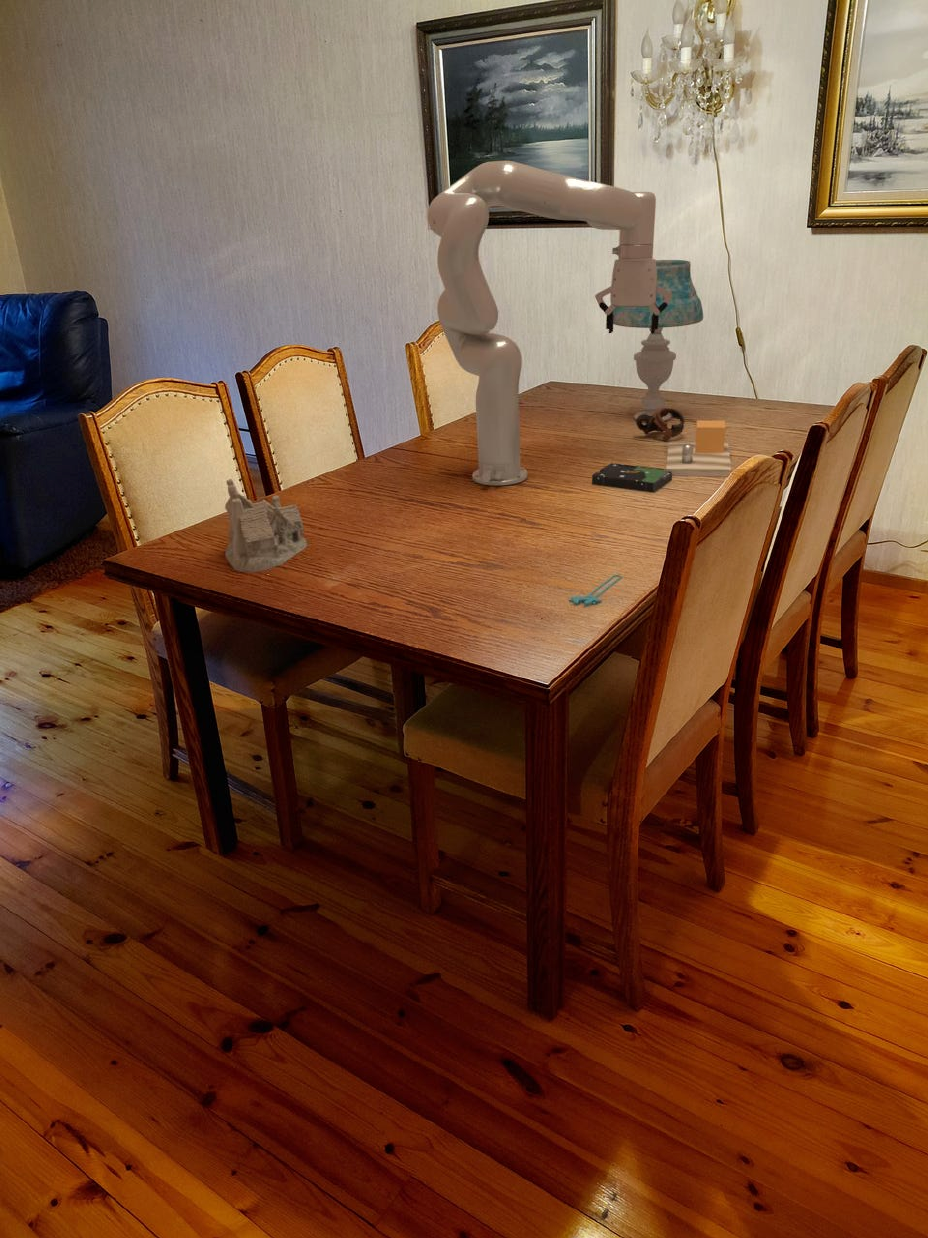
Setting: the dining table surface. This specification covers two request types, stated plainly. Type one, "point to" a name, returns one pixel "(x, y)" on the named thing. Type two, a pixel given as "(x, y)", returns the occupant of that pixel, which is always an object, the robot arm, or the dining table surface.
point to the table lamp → (655, 353)
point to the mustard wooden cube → (710, 437)
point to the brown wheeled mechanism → (661, 423)
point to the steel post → (687, 453)
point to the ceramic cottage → (261, 532)
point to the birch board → (698, 462)
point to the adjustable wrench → (591, 598)
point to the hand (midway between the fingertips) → (631, 332)
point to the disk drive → (632, 477)
